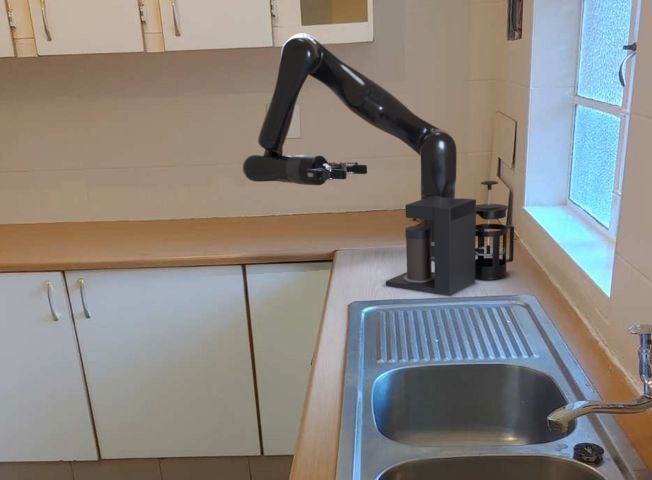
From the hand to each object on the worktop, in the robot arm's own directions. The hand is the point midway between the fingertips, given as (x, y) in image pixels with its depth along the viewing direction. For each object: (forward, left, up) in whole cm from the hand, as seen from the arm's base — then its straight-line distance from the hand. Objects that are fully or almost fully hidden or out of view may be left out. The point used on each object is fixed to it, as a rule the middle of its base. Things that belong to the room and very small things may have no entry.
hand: (356, 172), depth 187 cm
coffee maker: (+7, +21, -26) cm, 34 cm away
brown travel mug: (+6, +18, -24) cm, 31 cm away
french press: (-4, +33, -26) cm, 42 cm away
